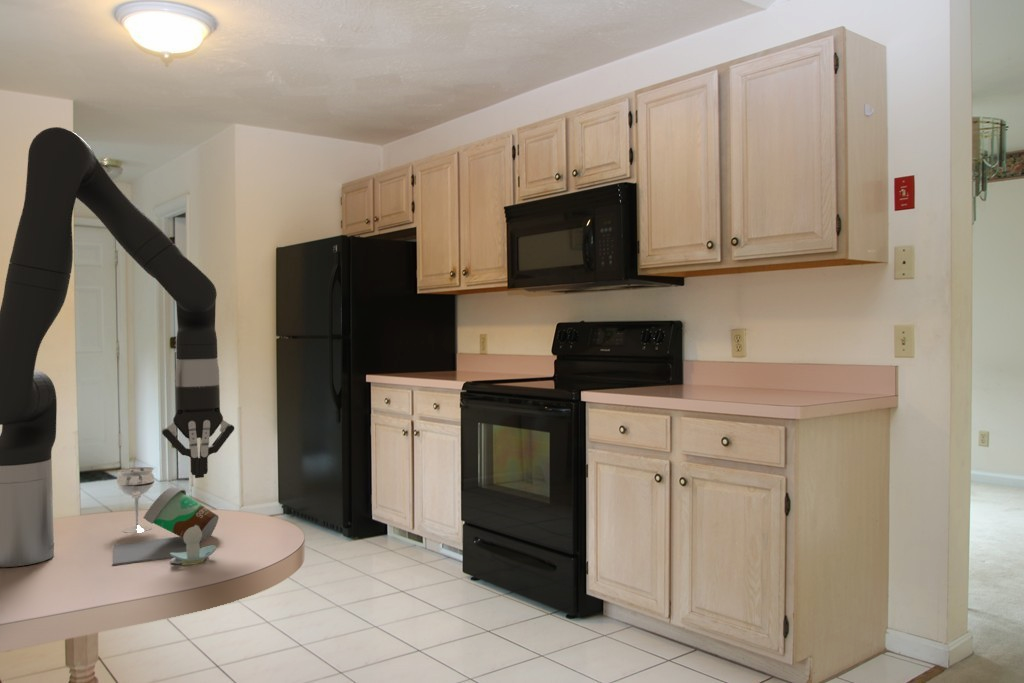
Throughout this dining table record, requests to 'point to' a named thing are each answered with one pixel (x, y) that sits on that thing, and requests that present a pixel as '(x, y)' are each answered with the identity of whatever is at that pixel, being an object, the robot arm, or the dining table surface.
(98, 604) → the dining table surface
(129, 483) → the wineglass
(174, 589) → the dining table surface
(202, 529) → the food container
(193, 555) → the pacifier
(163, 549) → the mat
